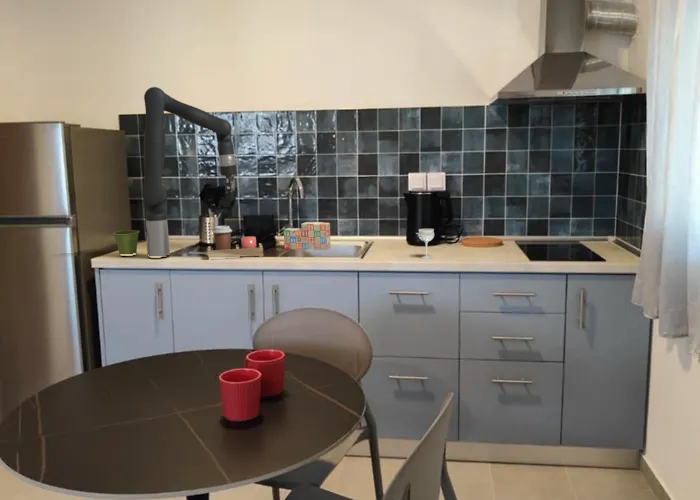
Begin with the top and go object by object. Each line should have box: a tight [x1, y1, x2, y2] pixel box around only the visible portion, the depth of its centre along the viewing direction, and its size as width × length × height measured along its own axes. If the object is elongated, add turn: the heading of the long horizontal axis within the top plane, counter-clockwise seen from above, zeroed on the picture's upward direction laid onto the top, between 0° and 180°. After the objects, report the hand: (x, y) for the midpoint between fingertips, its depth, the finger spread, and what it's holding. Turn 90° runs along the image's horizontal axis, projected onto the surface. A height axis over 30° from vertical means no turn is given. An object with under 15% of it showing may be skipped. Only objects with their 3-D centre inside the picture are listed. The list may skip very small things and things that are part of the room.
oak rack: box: [207, 243, 264, 258], centre depth 298 cm, size 13×24×4 cm, turn 101°
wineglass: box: [417, 227, 435, 259], centre depth 279 cm, size 7×7×12 cm
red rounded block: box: [240, 235, 257, 249], centre depth 299 cm, size 6×6×8 cm
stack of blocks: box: [283, 221, 331, 251], centre depth 312 cm, size 21×6×12 cm, turn 75°
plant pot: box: [112, 230, 140, 255], centre depth 305 cm, size 12×12×11 cm
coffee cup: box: [211, 225, 233, 250], centre depth 308 cm, size 9×9×12 cm
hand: (231, 200), depth 303 cm, fingers open, 8 cm apart
